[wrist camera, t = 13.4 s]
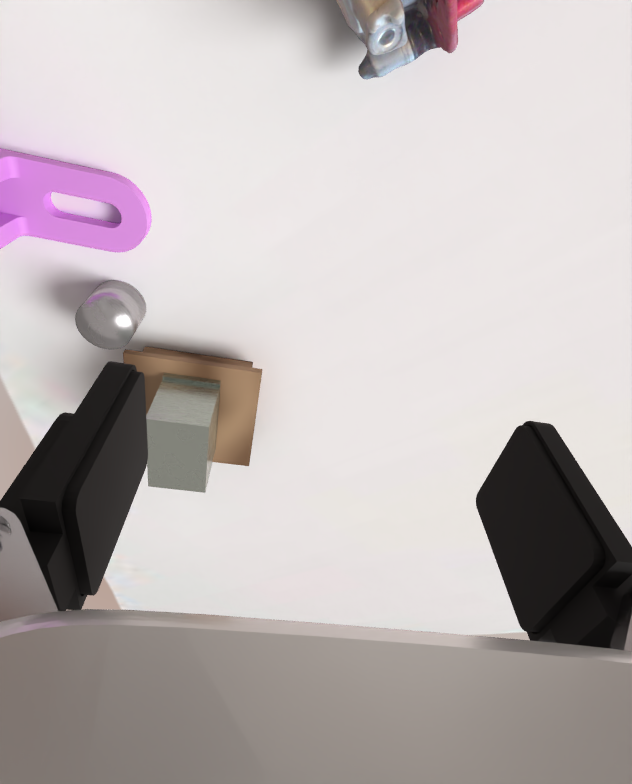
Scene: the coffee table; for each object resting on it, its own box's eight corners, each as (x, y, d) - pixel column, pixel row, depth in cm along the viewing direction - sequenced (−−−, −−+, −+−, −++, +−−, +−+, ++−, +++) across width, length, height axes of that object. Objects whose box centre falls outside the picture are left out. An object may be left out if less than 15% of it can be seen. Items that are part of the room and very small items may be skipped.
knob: (96, 321, 41) (78, 345, 38) (91, 276, 39) (71, 296, 35) (147, 329, 42) (133, 353, 38) (145, 284, 39) (130, 305, 36)
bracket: (-20, 218, 36) (-80, 250, 30) (-37, 140, 33) (-108, 158, 27) (151, 252, 38) (124, 287, 32) (151, 180, 34) (121, 206, 29)
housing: (164, 372, 41) (144, 415, 36) (220, 380, 41) (209, 424, 37) (165, 442, 46) (148, 488, 41) (215, 448, 46) (204, 494, 42)
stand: (139, 432, 49) (130, 451, 47) (133, 335, 42) (123, 353, 40) (251, 446, 50) (248, 466, 48) (264, 355, 43) (261, 372, 41)
